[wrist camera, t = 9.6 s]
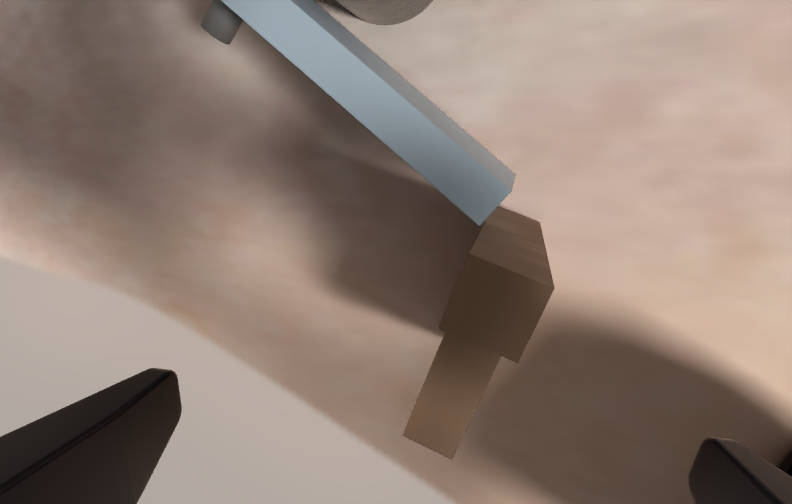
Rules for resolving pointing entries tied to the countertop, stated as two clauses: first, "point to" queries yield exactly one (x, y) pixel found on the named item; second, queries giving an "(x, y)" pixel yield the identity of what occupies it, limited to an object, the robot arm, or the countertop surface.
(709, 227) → the countertop surface
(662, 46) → the countertop surface
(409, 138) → the gate
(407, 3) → the grey tall cylinder
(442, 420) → the fence
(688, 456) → the countertop surface
